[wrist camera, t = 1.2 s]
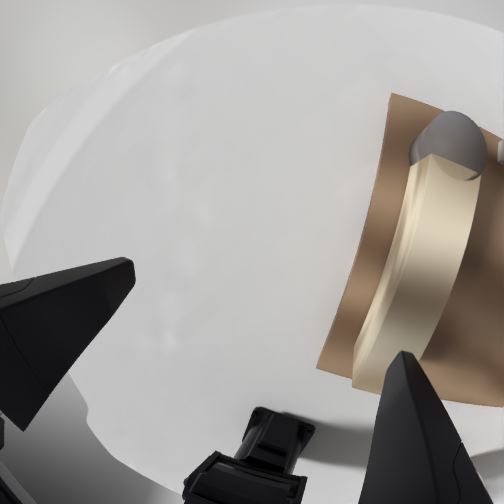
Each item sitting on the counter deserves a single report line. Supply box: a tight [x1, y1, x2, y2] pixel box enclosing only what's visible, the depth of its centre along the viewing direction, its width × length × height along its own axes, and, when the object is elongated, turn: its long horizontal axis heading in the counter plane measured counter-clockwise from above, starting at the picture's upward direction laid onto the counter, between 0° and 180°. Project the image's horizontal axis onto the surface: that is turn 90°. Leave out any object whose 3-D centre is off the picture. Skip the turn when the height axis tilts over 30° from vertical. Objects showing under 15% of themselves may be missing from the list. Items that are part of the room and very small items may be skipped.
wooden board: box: [316, 93, 504, 407], centre depth 13 cm, size 21×21×4 cm
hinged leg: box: [352, 111, 488, 395], centre depth 13 cm, size 16×4×5 cm, turn 167°
